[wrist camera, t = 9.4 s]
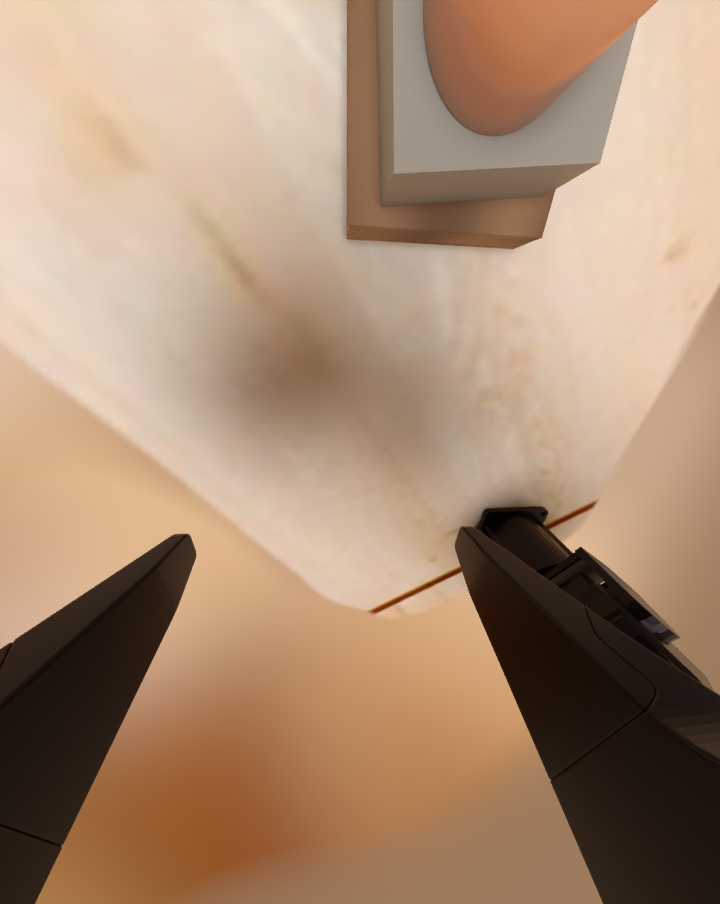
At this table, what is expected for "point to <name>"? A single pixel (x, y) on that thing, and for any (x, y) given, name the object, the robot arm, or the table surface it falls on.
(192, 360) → the table surface
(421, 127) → the top slab
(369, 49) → the base slab
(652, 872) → the robot arm
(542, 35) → the cylinder
